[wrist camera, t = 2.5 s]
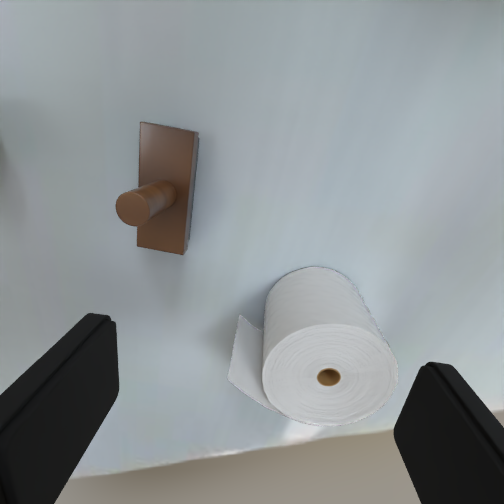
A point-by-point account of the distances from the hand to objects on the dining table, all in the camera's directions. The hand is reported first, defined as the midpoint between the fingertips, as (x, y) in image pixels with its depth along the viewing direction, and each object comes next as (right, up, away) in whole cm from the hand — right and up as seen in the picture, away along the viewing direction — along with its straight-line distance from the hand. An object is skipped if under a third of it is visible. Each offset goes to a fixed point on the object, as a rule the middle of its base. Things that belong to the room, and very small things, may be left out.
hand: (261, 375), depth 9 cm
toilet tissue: (+6, -3, +24) cm, 24 cm away
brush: (-8, +10, +19) cm, 23 cm away
